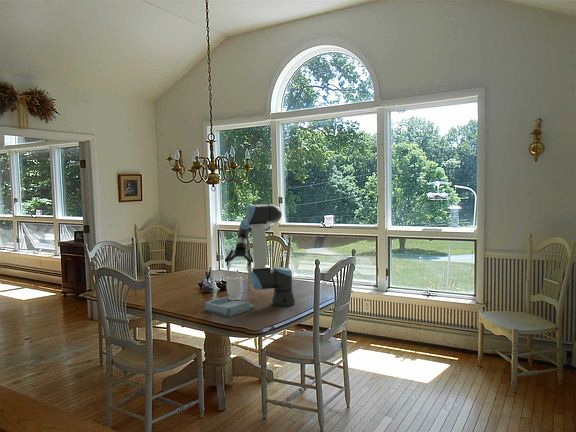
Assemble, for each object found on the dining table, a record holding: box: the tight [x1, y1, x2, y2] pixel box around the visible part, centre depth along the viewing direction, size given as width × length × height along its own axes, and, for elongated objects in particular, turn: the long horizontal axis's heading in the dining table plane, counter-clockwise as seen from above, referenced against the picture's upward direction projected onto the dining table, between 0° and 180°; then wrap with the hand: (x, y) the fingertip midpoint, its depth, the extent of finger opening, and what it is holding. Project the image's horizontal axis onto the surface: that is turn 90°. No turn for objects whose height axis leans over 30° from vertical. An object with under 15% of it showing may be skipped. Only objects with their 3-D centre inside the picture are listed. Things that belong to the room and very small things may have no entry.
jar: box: [225, 275, 243, 301], centre depth 295 cm, size 11×10×15 cm
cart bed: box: [203, 296, 255, 318], centre depth 271 cm, size 22×23×5 cm
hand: (237, 269), depth 305 cm, fingers open, 13 cm apart
